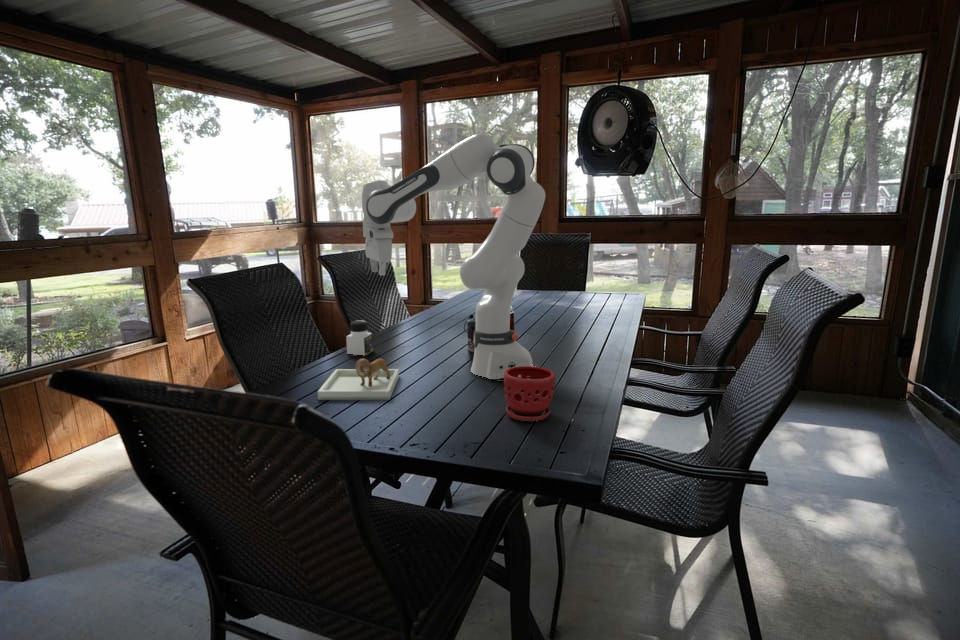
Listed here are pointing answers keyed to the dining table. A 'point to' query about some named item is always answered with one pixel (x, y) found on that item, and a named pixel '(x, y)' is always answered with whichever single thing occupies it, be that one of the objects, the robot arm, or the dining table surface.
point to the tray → (358, 386)
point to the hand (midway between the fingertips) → (378, 273)
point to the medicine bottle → (359, 339)
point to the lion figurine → (371, 369)
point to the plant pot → (528, 392)
